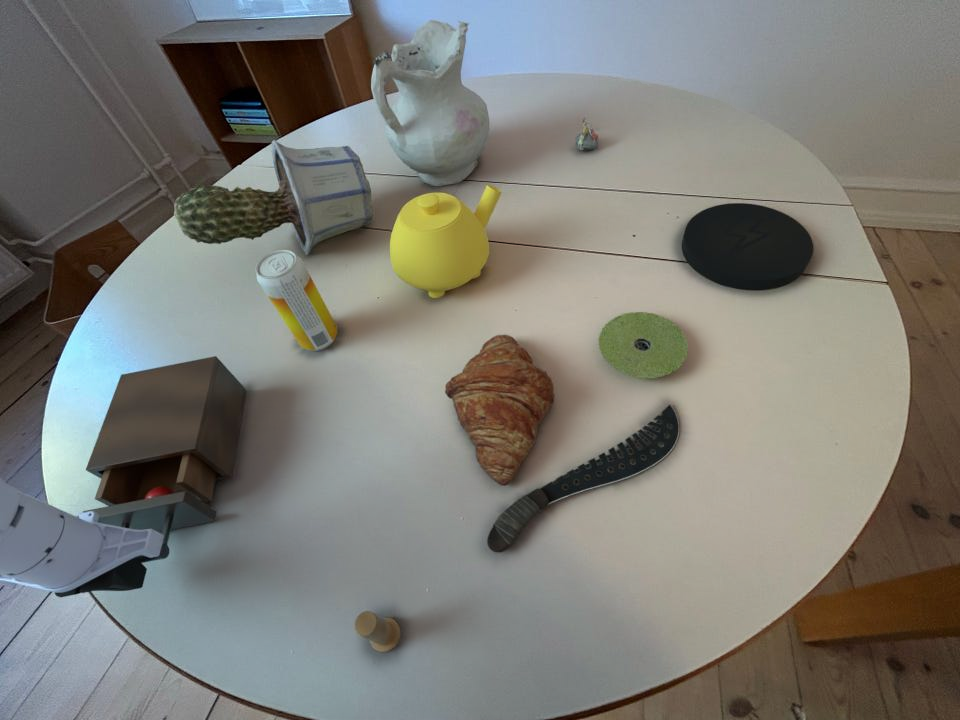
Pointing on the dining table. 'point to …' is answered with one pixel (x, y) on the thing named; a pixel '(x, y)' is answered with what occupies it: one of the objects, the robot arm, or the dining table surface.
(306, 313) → the yellow two-tone cylinder
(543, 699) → the dining table surface
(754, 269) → the wireless charger
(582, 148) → the figurine
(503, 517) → the knife
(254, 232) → the potted plant
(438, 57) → the ceramic pitcher
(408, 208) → the teapot
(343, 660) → the dining table surface
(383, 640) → the flanged wooden peg
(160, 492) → the ball
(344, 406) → the dining table surface
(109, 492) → the drawer
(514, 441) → the pastry
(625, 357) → the green disc
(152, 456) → the cabinet
